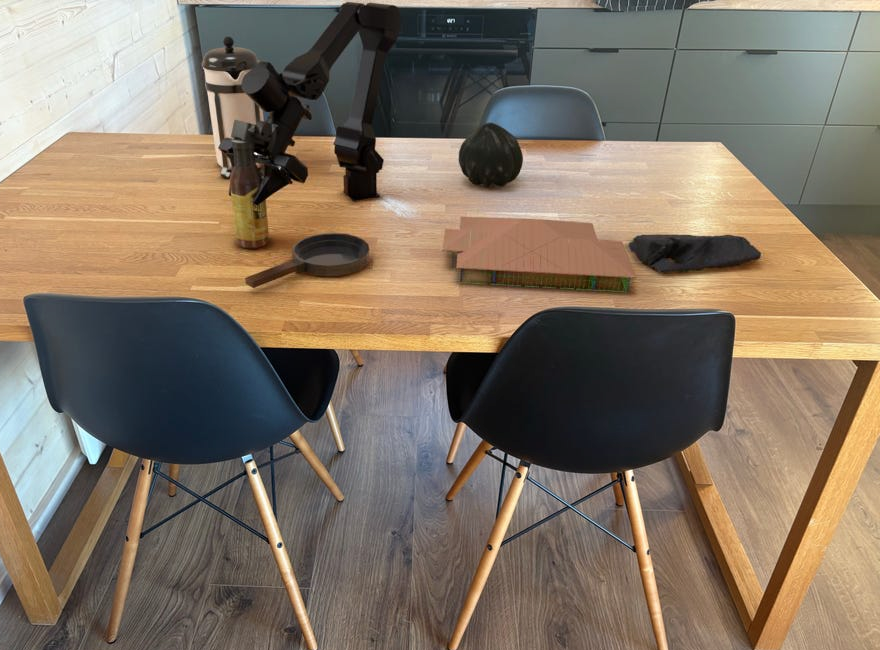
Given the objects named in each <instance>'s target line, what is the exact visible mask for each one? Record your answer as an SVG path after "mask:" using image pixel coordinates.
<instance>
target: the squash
mask: <svg viewBox="0 0 880 650" xmlns="http://www.w3.org/2000/svg"><path fill="white" fill-rule="evenodd" d="M523 163H524V155H523V152H522V148H521V147H520V143H519V141H518V140H517V138H516V137H515V136H514V135H513V134H512V133H511V132H509V131H508V130H507V129H506V128H504V127H503V126H500V124H497V123H493V122H485V123H484V124H481V125H480V126H478V127H477V128H475V129H474V130H473V131H471V132H470V133H469V134H468V136H466V138H465V139H464V140H463V141H462V143H461V145H460V147H459V150H458V164H459V167H460V169H461V172H462V174H463V176H465V177H466V178H467V179H468V181H469V182H470V183H471V185H473V186H483V188H491V187H492V186H493V185H494V186H496V187H504V186H506V185H507V184H510V183H512V182H513V181H515V180H516V179H517V178H518V176H519V175H520V173H521V170H522V167H523Z"/></svg>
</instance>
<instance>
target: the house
mask: <svg viewBox="0 0 880 650" xmlns="http://www.w3.org/2000/svg"><path fill="white" fill-rule="evenodd" d="M459 221H460V222H459V229H458V228H457V229H456V228H444V234H443V240H442V249H441V251H442V252H446V253H452V254H451V255H452V256H451V258H452V259H451V269H454V261H455V260H456V267H455V269H460V279H459V281H460V284H467V281H465V282H463V281H462V277H463V275H464V273H463V269H464V270H466V271H465V275H470V276H473V275H474V276H475V277H474V279H476V278H477V277H476V276H478V274H477V273H468V272H467V271H468V270H476V271H478V270H479V276H482V274H481V273H482V271H484V272H486V271H492V274H485V277H486V276H489V278H488V280H490V278H491V277H492V283H491V285H494V286H505V281H503V284H500V283H495V279H496V272H501V271H502V272H504V273H503V278H505V277H506V278H507V279H508V280H507V283H509V281H510V277H511V278H513V279H512V281H514V278H515V275H505V274H506V272H508V274H510V272H514V273H515V272H518V275H517V278H520V274H519V273H522V279H526V282H529V278H531V280H534V276H524V275H525V273H527V274H529V273H532V274H537V275H536V276H537V277H536V279H539V274H541V281H540V284H542V283H543V280H545V283H547V280H550V281H552V280H553V276H551V277H546V278H545V277H543V276H544V274H546V276H548V275H549V274H551V275H554V274H555V275H556V277H555V280H558V275H561V277H560V280H559V281H560V283H559V285H561V283H562V281H564V284H566V283H567V282H566V281H569V282H571V281H572V278H570V279H568V278H565V279H563V277H562V276H563V275H565V277H567V275H570V276H580V277H579V284H578V286H580V285H581V282H584V283H583V285H586V284H585V283H586V282H588V284H590V285H588V286H587V288H585V286H583V287H582V288H580V287H578V288H577V290H581V291H595V290H596V291H597V292H598V291H600V292H610V286H611V283H612V278H615V279H614V285H613V287H615V284H618V286H620V285H621V284H623V288H622V290H620V287H618V288H617V290H615V288H613V289H612V292H617V293H618V292H619V293H628V289H629V285H630V280H631V279H637V275H636V272H635V269H634V267H633V265H632V263H631V260H630V256H629V254H628V252H627V250H626V247H625V244H624V242H623V241H621V240H607V239H606V240H605V239H603V240H602V239H598V237H597V233H596V230H595V227H594V224H593V222H585V221H584V222H582V221H569V220H555V219H542V218H526V217H525V218H520V217H487V216H486V217H485V216H484V217H483V216H460V220H459ZM455 252H457V254H455ZM454 257H456V258H454ZM582 276H584V280H583V279H581V278H582ZM587 276H589V280H588V279H587V280H586V278H587ZM598 277H600V279H603V278H602V277H604V278H610V280H609V285H608V290H607V289H600V288H601V285H599V286H598V289H596V284H597V283H599V284H601V283H602V282H603V283H607V279H605V280H597V278H598ZM500 278H501V274H499V275H498V279H500ZM574 278H575V279H574V281H577V279H576V278H577V277H574ZM617 278H619V282H618V281H617ZM469 279H470V282H469V284H472V282H471V281H472V278H469ZM616 281H617V282H616ZM485 282H486V278H484V281H483V283H482V282H473V285H474V284H475V285H476V284H477V285H485V284H486V283H485ZM523 282H524V280H522V283H521V284H523ZM537 283H538V281H536V283H535V285H533V283H531V285H526V287H531V288H538V286H537V285H538V284H537ZM556 284H557V282H555V283H554V287H553V286H552V283H550V285H549V286H547V285H545V286H543V289H544V288H546V289H547V288H548V289H555V286H556ZM575 285H576V283H574V284H573V287H576V286H575ZM509 286H511V287H520V285H519V282H517V284H508V287H509ZM590 287H591V288H590ZM605 287H606V284H604V286H603V288H605ZM561 289H562V290H563V289H564V290H565V289H566V290H573V288H571V284H569V287H566V285H564V287H561Z"/></svg>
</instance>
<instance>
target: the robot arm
mask: <svg viewBox="0 0 880 650" xmlns="http://www.w3.org/2000/svg"><path fill="white" fill-rule="evenodd" d="M402 16H403V15H402V14H401V11H400V9H399V8H398V6H396V5H395V4H388V3H379V2H378V3H377V2H367V3H363V2H356V1H355V2H354V1H346V2H344V3H342V4H341V6H340V7H339V10H338V13H337V14H336V16H335V17H334V18H333V20H332V21H331V22H330V23H329V25H327V27H326V29H325V30H324V31H323V32H322V33H321V35H320V36H319V38H318V39H317V40H316V42H315V43H314V44H313V46H312V47H311V48H310V49H309V50H308V51H307V52H305V53H303V54H300V55H298V56H296V57H295V58H294V59H293V60H291V62H289V63H288V64H287V65H286V66H285V67H284V69H283V70H282V71H281V72H277V70H276V69H275V66H274V65H273V64H272V63H271V62H270V61H265V60H261V61H260V64H259V66H257V67H255V68H253V69H251V70H250V71H249V72H248V73H247V74H245V75H244V77H243V80H242V84H241V87H242V90H243V91H244V92H245V93H246V94H247V95H248V96H249V97H250V98H251V99H252V100H253V101H254V102H255V103H256V104H257V105H258V106H259V107H260V108H261V109H262V110H263V113H264V112H265V113H268V115H267V116H266V118H265V120H264V121H259V122H257V124H256V125H254V124H251V123H247V122H243V121H239V120H234V124H233V129H232V134H231V137H232V138H241V139H242V140H244V141H247V142H251V143H253V142H254V143H255V148H254V153H255V160H256V163H259V164H263V165H264V169H263V170H264V175H263V176H262V178H263V179H262V181H261V184H260V186H259V188H258V190H257V192H256V194H255V197H254V200H253V203H254V204H255V205H259V204H260V203H262V202H263V201H264V200H266V201H267V199H269V198H270V197H271V196H273V195H274V194H275V193H276V192H279V191H280V190H281V189H284V187H286V186H288V185H293V184H294V182H296V183H300V184H305V182H306V181H307V178H308V176H309V169H308V167H307V166H306V165H305V164H304V163H303V162H302V161H301V160H300V159H299V158H298V157H297V156H296V155H294V154H290V153H287V152H286V151H287V150H288V147H293V148H294V147H295V144H296V141H295V140H294V139H293V138H294V136H295V133H296V132H297V130H298V127H299V126H300V124H301V121H302V120H307V121H312V120H313V116H312V115H313V114H312V112H311V110H310V105H309V104H307V103H302V102H301V100H300V99H305V100H310V101H317V100H318V99H319V98H320V97H321V96H322V94H323V93H324V91H325V89H326V87H327V85H328V84H329V82H330V72H331V68H332V67H333V66H334V64H335V63H336V61H337V60H339V58H340V56H341V55H342V53H344V51H345V50H346V48H347V47H348V46H349V44H350V43H351V42H352V40H353V39H354V38H355V36H356V35H357V34H358V36H359V40H360V42H361V43H360V44H361V46H362V48H361V49H362V50H361V55H360V60H359V66H358V69H357V75H356V82H355V86H354V90H353V96H352V101H351V106H350V111H349V116H348V119H347V121H345V123H344V124H343V125H337V127H336V130H335V131H336V132H335V138H334V141H333V143H332V145H333V146H334V149H333V151H334V152H333V153H334V155H335V156H336V159H337V162H338V165H339V167H340V168H344V171H345V172H344V173H345V174H344V175H343V176H342V179H343V192H342V193H343V194H344V195H345V196H347V197H348V198H349V200H351V201H352V202H359V201H366V200H373V199H377V198H380V197H381V194H379V193H378V187H377V186H378V183H377V182H378V181H377V180H378V179H377V177H378V176H377V175H378V174H379V173H380V171H382V169H383V168H384V167H383V166H384V162H385V161H384V158H383V156H381V154H380V153H379V152H378V151H377V150H376V144H377V138H376V134H375V131H374V128H373V120H374V115H375V112H376V111H375V110H376V105H377V101H378V96H379V91H380V86H381V82H382V77H383V72H384V66H385V62H386V56H387V54H388V52H389V51H390V50H391V49H392V47H393V46H394V45H395V44H396V42H397V41H398V38H399V35H400V32H401V28H402V24H403V17H402ZM299 98H300V99H299ZM231 140H232V139H231V138H224V139H222V141H221V143H220V145H219V147H218V149H219V150H220V151H222V152H223V153H224V154H225V155H226V156H227V157H228V158H229V159H230V162H231V173H232V170H233V169H234V166H235V163H234V151H233V148H232V142H231ZM258 157H259V158H258ZM228 196H229V197H231V183H230V182H229V188H228Z"/></svg>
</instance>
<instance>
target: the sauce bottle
mask: <svg viewBox="0 0 880 650" xmlns="http://www.w3.org/2000/svg"><path fill="white" fill-rule="evenodd" d="M231 142H232V148H233V151H234V163H235V166H234V169H233V170H232V173H231V174H230V176H229V184H230V183H231V196H230V198H231V206H232V214H233V223H234V232H235V237H236V242H237V245H238V246H239V247H241V248H242V249H251V250H252V249H259V248H262V247H264V246H266V245H267V244H269V243H268V242H269V234H270V232H269V221H268V219H269V218H268V207H267V199H266V200H264V201H263V202H262V203H260V204H259V205H255V204H254V203H253V200H254V197H255V194H256V192H257V190H258V188H259V186H260V184H261V181H262V179H263V175H262V174H261V172H260V171H259V169H258V167H257V165H256V160H255V153H254V148H255V143H254V142H253V143H251V142H247V141H244V140H242V139H241V138H234V139H232V140H231Z"/></svg>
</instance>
